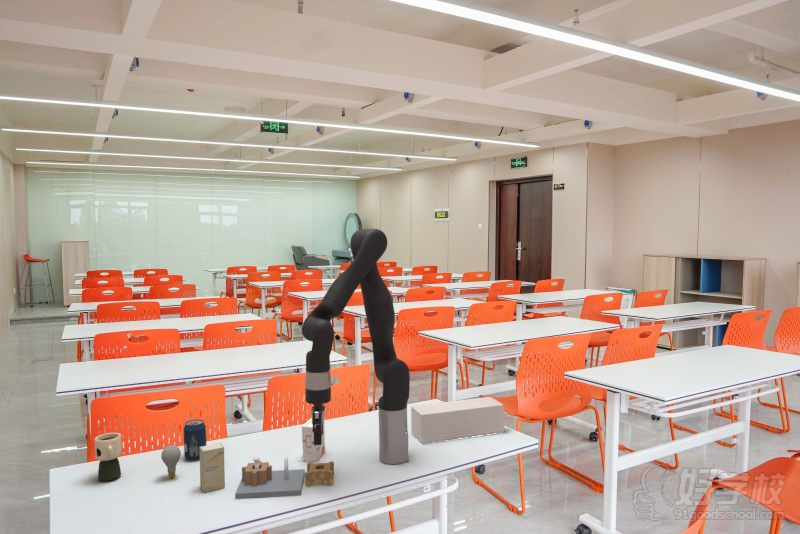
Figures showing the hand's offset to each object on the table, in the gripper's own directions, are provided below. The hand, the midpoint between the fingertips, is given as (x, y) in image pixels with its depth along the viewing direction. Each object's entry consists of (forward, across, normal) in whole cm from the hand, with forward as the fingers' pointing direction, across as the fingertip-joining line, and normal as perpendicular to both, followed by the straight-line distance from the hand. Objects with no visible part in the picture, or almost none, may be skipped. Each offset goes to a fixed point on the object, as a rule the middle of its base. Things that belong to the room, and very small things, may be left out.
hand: (318, 439), depth 166 cm
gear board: (+13, -2, +14) cm, 19 cm away
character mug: (+14, +9, +64) cm, 66 cm away
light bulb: (+13, +7, +45) cm, 47 cm away
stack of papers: (+12, +33, -48) cm, 60 cm away
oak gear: (+12, 0, 0) cm, 13 cm away
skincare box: (+13, -1, +31) cm, 33 cm away
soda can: (+13, +22, +42) cm, 49 cm away
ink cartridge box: (+13, +18, +3) cm, 22 cm away
